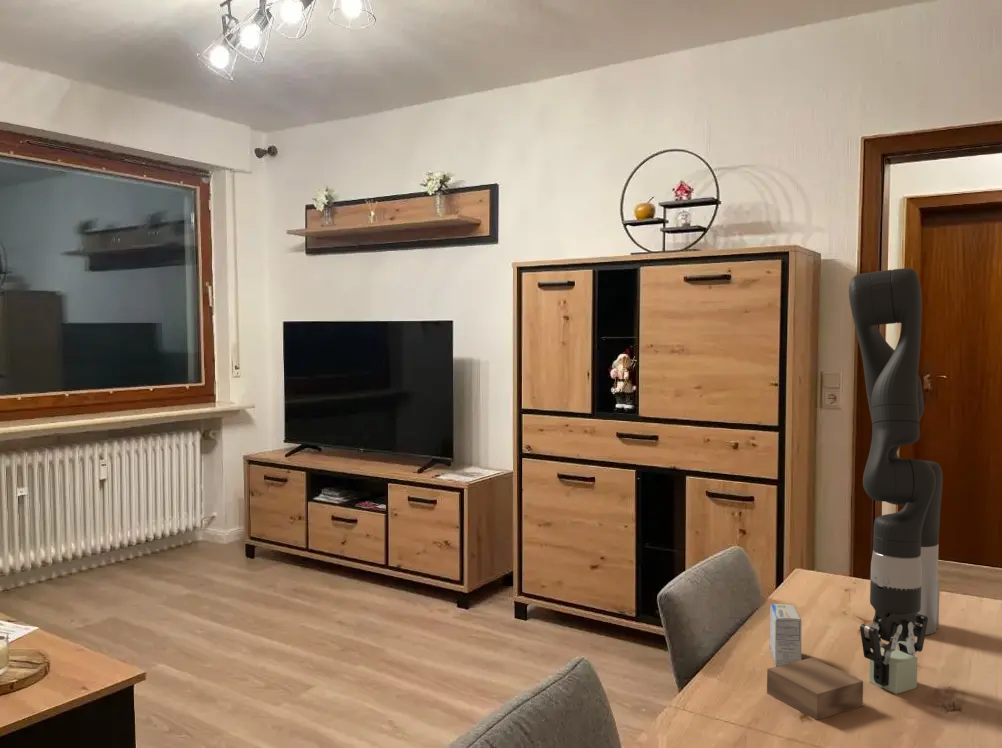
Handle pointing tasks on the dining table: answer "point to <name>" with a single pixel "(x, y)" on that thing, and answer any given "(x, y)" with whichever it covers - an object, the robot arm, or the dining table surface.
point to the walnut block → (815, 688)
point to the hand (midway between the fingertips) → (892, 680)
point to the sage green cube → (899, 672)
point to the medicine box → (785, 634)
